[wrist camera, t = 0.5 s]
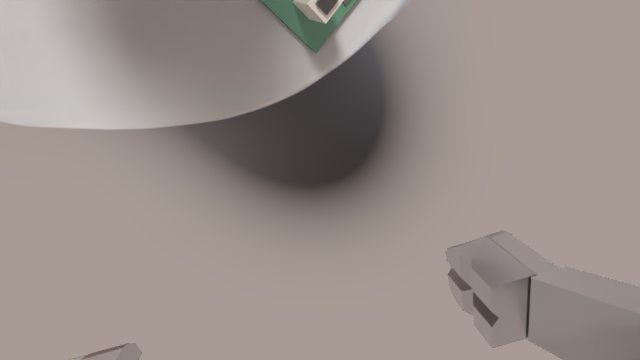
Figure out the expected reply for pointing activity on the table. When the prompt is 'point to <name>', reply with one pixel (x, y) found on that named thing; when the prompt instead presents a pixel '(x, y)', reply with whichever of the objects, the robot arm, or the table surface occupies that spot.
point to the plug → (318, 9)
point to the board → (307, 21)
